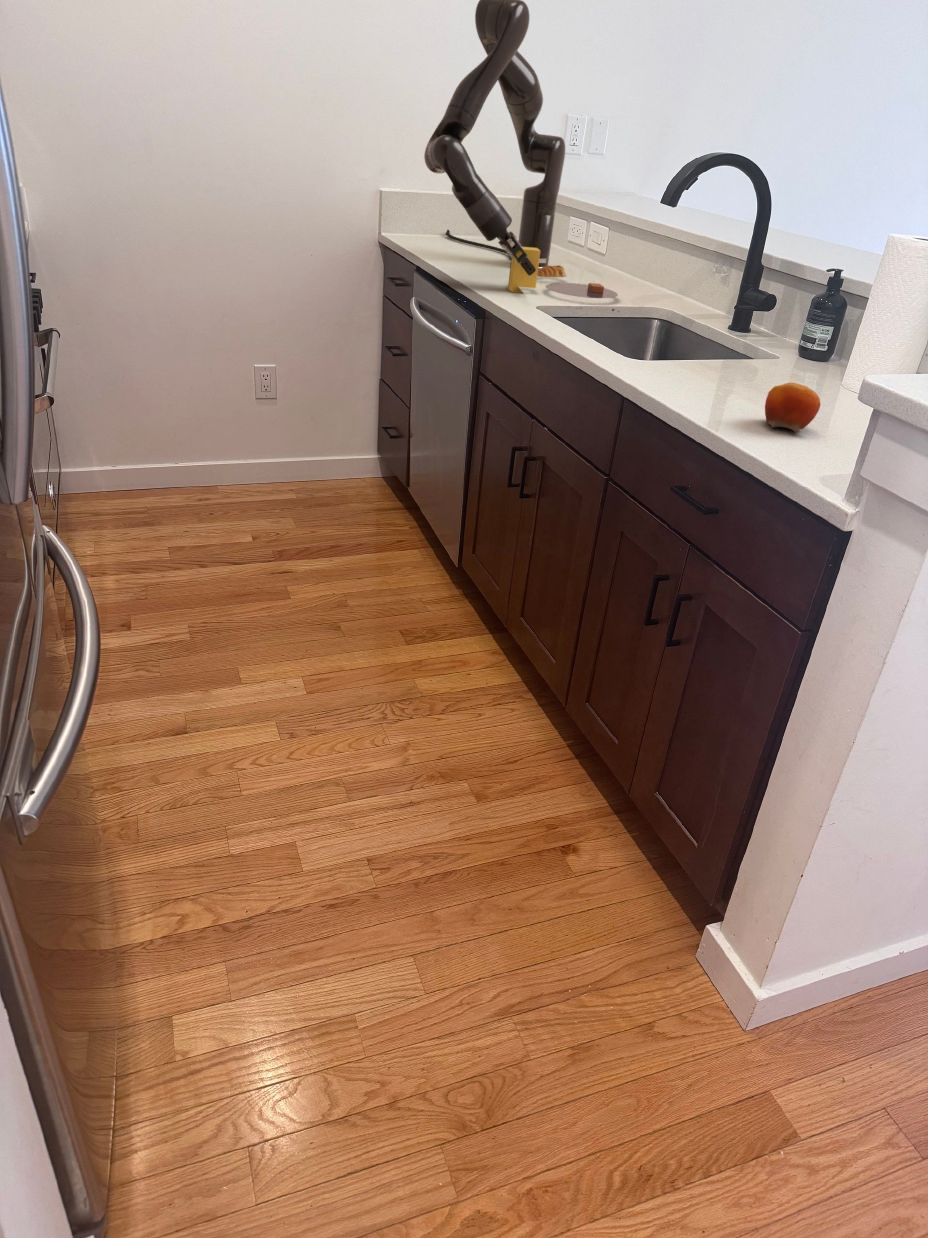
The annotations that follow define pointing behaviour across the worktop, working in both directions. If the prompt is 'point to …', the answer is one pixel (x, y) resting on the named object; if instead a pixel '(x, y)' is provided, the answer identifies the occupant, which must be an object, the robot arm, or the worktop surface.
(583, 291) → the plate
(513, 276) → the sponge
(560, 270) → the pastry
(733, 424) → the worktop surface
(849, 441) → the worktop surface
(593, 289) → the orange slab
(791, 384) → the fruit
